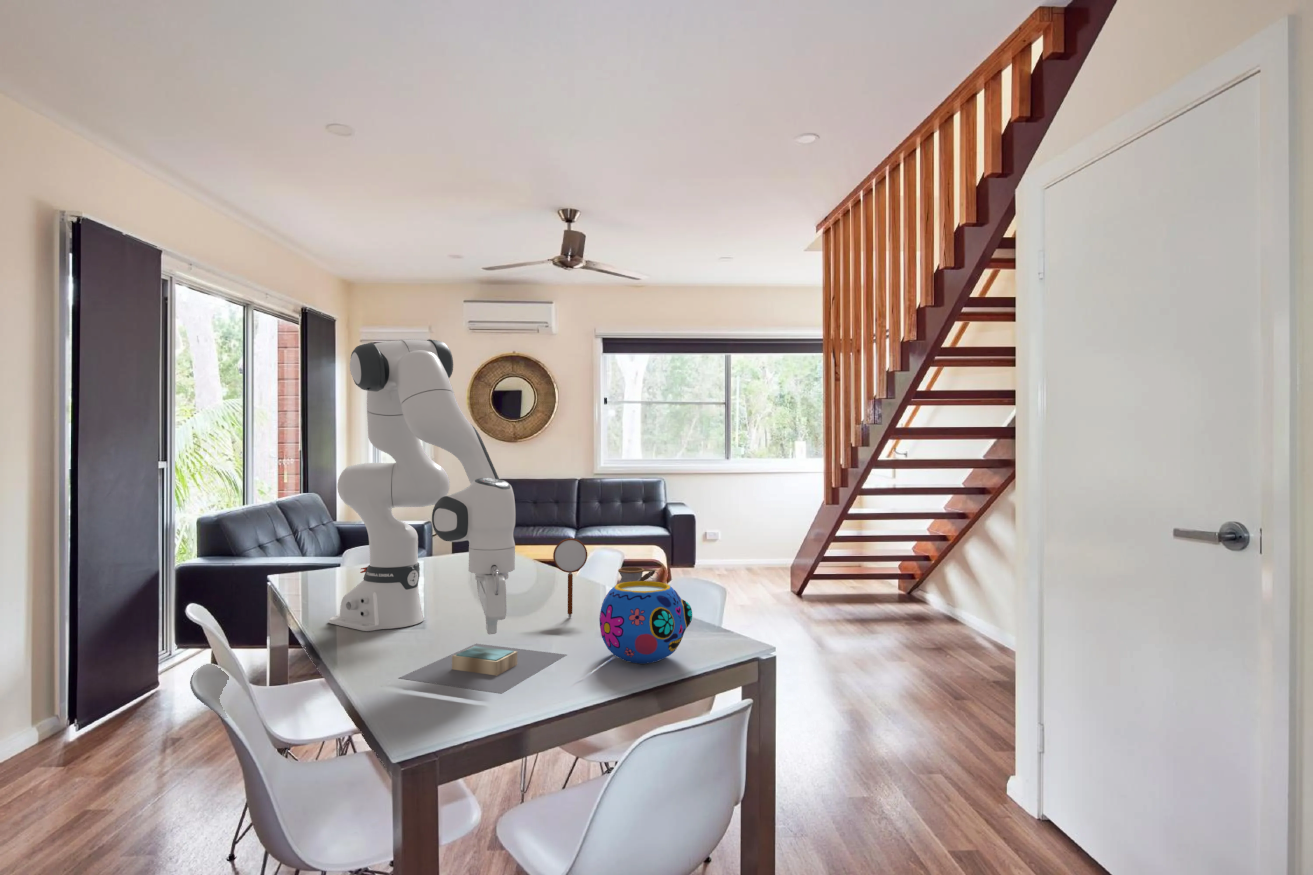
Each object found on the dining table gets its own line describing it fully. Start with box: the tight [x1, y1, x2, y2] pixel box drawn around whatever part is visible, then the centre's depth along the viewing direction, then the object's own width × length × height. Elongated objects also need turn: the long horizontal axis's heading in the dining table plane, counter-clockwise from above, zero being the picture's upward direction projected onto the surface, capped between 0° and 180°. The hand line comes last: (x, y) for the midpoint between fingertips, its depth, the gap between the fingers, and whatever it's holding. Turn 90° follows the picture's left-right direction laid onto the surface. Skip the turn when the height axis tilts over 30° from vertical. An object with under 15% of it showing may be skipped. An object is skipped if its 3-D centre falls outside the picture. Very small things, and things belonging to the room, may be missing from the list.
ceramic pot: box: [598, 580, 693, 665], centre depth 139 cm, size 18×18×15 cm
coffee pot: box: [617, 566, 660, 584], centre depth 166 cm, size 21×12×15 cm, turn 22°
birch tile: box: [452, 646, 517, 675], centre depth 132 cm, size 10×3×7 cm
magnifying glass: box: [552, 537, 588, 618], centre depth 174 cm, size 9×2×20 cm, turn 102°
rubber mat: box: [398, 643, 567, 694], centre depth 133 cm, size 22×24×1 cm
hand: (491, 632), depth 134 cm, fingers closed
